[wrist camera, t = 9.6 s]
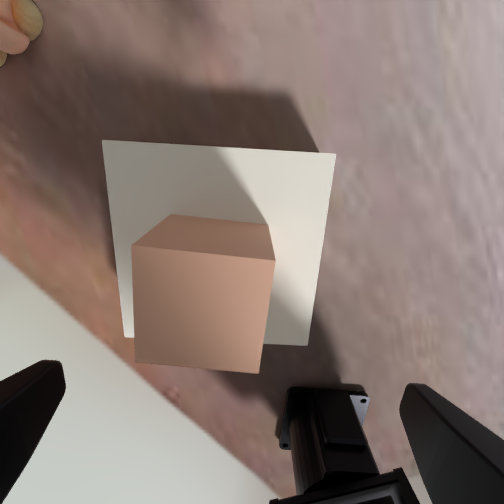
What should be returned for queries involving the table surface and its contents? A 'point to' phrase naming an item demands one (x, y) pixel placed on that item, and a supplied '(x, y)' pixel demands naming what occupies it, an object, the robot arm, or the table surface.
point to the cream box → (226, 212)
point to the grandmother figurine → (18, 26)
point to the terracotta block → (202, 293)
